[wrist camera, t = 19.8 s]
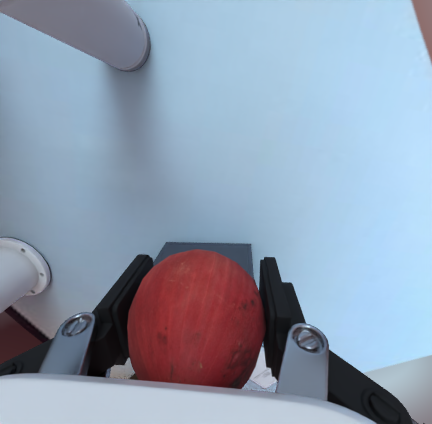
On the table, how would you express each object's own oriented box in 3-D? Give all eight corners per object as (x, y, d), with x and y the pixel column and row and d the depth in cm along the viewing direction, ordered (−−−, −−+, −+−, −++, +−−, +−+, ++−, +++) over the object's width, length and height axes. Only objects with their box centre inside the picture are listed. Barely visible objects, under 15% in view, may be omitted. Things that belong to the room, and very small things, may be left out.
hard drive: (243, 332, 42) (291, 364, 44) (218, 352, 45) (263, 381, 46) (243, 339, 40) (293, 372, 42) (217, 360, 43) (264, 390, 45)
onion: (266, 231, 12) (313, 403, 4) (248, 310, 14) (261, 516, 7) (162, 216, 12) (43, 355, 5) (161, 296, 14) (77, 478, 7)
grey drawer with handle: (148, 293, 41) (124, 335, 32) (138, 241, 37) (108, 275, 28) (249, 298, 38) (251, 345, 30) (250, 243, 34) (253, 281, 26)
